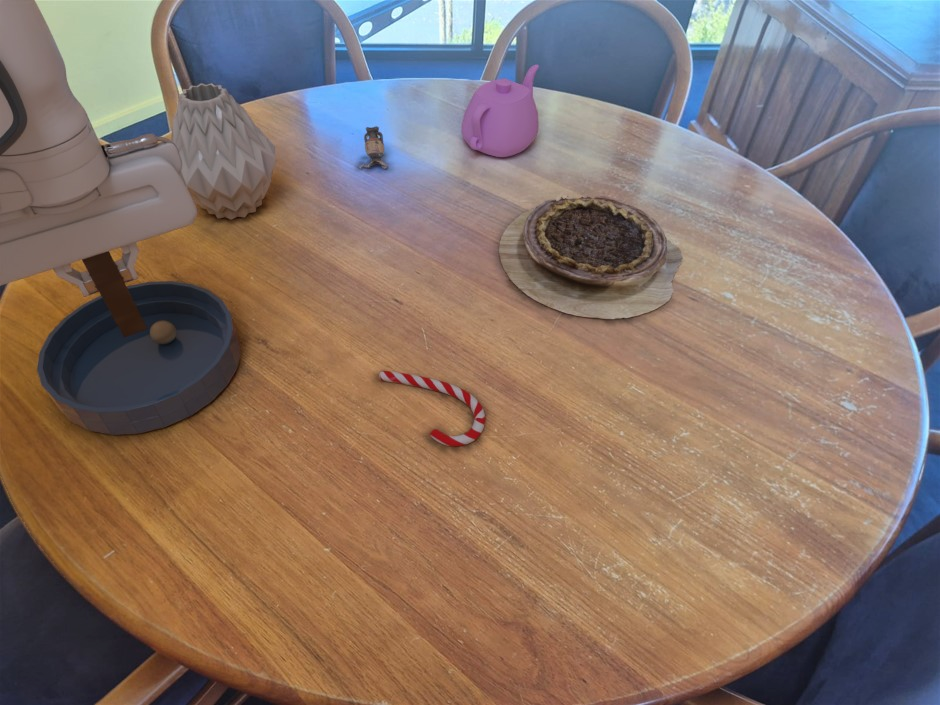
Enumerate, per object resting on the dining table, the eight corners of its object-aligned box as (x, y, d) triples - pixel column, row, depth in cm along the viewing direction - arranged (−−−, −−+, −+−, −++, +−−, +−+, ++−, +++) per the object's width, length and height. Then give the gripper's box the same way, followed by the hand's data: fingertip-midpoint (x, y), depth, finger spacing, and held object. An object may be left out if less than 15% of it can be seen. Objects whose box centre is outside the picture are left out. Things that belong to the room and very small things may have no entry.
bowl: (79, 469, 66) (59, 443, 63) (40, 348, 78) (21, 321, 74) (268, 385, 75) (259, 358, 72) (207, 288, 87) (198, 261, 83)
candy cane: (395, 353, 78) (499, 404, 73) (395, 360, 79) (498, 411, 74) (356, 394, 73) (464, 452, 68) (357, 401, 74) (464, 458, 69)
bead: (158, 352, 77) (150, 335, 75) (151, 338, 79) (143, 321, 77) (182, 343, 79) (175, 326, 76) (175, 329, 80) (167, 312, 78)
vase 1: (222, 170, 107) (190, 61, 94) (305, 191, 104) (284, 80, 90) (158, 220, 97) (113, 105, 83) (248, 246, 93) (216, 130, 80)
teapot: (502, 175, 110) (507, 110, 101) (442, 150, 115) (442, 87, 106) (559, 132, 121) (568, 71, 112) (502, 111, 126) (507, 51, 117)
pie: (649, 345, 82) (659, 318, 78) (466, 279, 90) (468, 251, 86) (698, 235, 99) (708, 208, 96) (541, 187, 107) (544, 161, 104)
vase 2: (363, 153, 113) (359, 121, 109) (392, 154, 113) (390, 123, 109) (358, 168, 109) (354, 137, 105) (388, 170, 109) (386, 138, 105)
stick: (124, 337, 66) (65, 229, 56) (118, 324, 67) (59, 216, 57) (147, 329, 67) (93, 221, 56) (141, 316, 68) (87, 208, 58)
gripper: (160, 114, 58) (202, 234, 68) (-100, 177, 50) (-8, 303, 60) (182, 143, 55) (222, 265, 65) (-93, 216, 46) (3, 343, 57)
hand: (110, 284), depth 62 cm, fingers closed on stick, 2 cm apart
